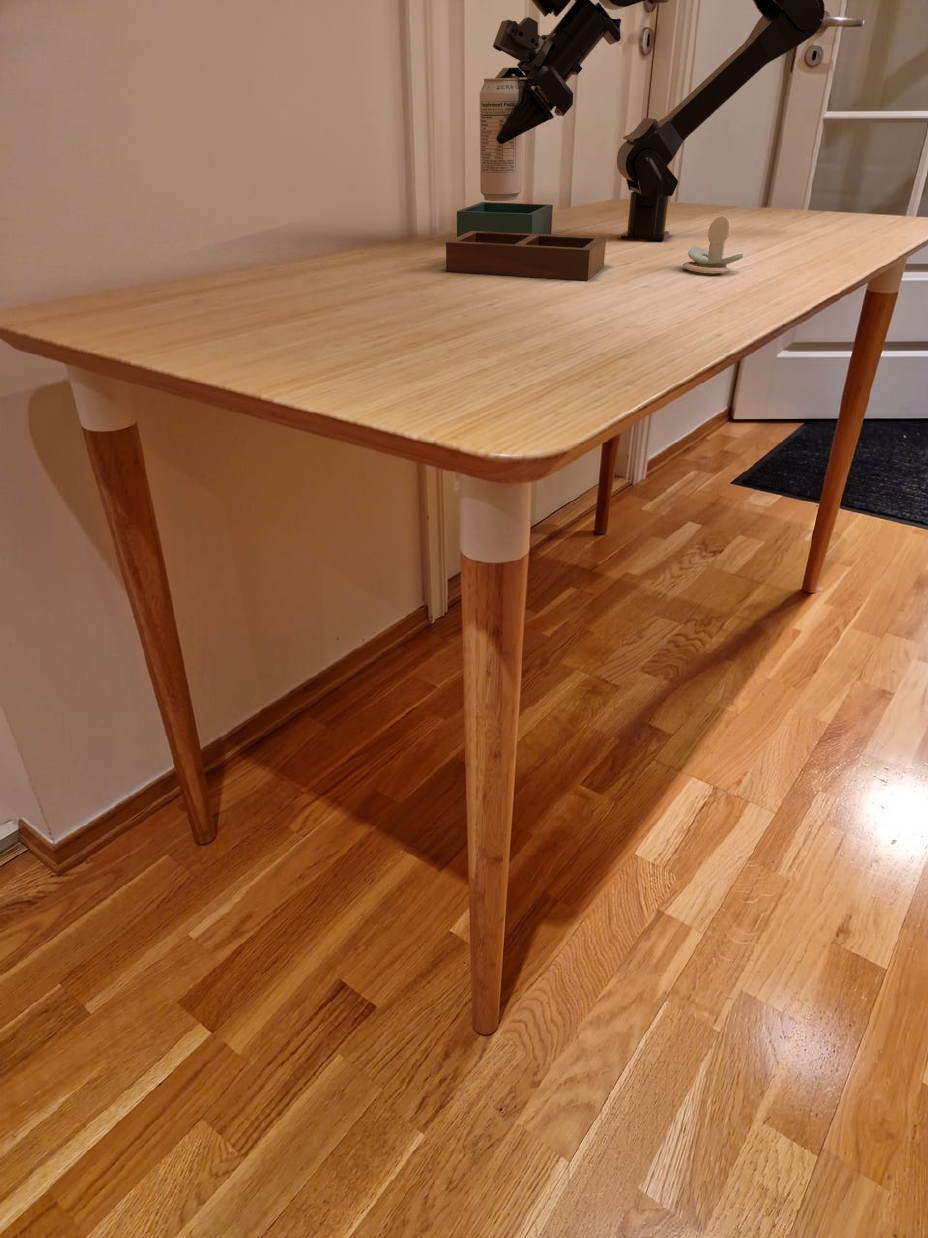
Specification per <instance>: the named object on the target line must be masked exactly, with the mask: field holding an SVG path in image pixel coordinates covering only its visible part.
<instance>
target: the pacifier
mask: <svg viewBox="0 0 928 1238" xmlns="http://www.w3.org/2000/svg"><path fill="white" fill-rule="evenodd" d="M731 227H732V225H731V222H730V220H729V219H728V218H727V217H725V216H718V217H716V218H715V219H714V220H713V221H712V222H711V223H710V225H709V228H708V231H707V238H708V242H709V246H708V250H707V249H705V248H703V247H700V246H690V247H689V248H688V251H687V256H688V257H689V258H690V259H691V260H692V261H686V262H683V263H682V265H681V266H682V268H684V269H685V270H688V271H691V272H694V273H695V272H696V273H702V274H704V273H705V274H725V273H727V272H728V271H729V267H727V265H729V264H732V263H735V262H737V261H740V260H742V259H743V257H744V253H739V254H738V253H737V254H736V255H731V256H728V257H724V258H723V256H724V250H725V244H726V240H728V238H729V237H730V234H731V230H732V228H731Z"/></svg>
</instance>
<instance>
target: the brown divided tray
mask: <svg viewBox="0 0 928 1238" xmlns="http://www.w3.org/2000/svg"><path fill="white" fill-rule="evenodd" d="M606 244H607V237H605V236H604V237H600V236H583V235H563V234H562V235H561V234H551V235H544V234H524V233H504V232H485V231H470V232H468V233H465V234H463V235H461V236H459V237H457V236H456V237H455V238H452V239H449V240H447V241H446V242H445V272H447V273H448V272H449V273H464V274H465V273H466V274H477V275H478V274H479V275H480V274H481V275H497V276H509V277H527V278H540V279H541V278H542V279H554V280H555V279H557V280H571V281H572V280H573V281H585V282H586V281H589V280H590V279H591V278H592V277H593V276H595V275H596V274H597V273H598V272H599V271H601V269H602V268H604V267H605V257H606V246H607V245H606Z"/></svg>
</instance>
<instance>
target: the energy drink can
mask: <svg viewBox="0 0 928 1238" xmlns="http://www.w3.org/2000/svg"><path fill="white" fill-rule="evenodd" d="M518 80H519V78H496V77H493V78H492V77H490V78H483V82H484V83H483V84H482V87H481V89H480V91H479V166H480V167H479V169H480V170H479V179H480V181H479V182H480V184H479V187H480V188H479V189H480V191H479V192H480V194H481V195H482V196H483V200H485V201H487V202H510V201H515V200H516V201H517V200H518V199H519V195H520V194H521V192H522V183H523V182H522V181H523V180H522V179H523V178H522V176H523V175H522V174H523V133H522V134H521V135H519V136H517V137H515V138H513V139H511V140H509V141H507V142H505V143H504V144H500V143H499V142H498V141H497V140H496V137H497V135H498V133H499V132H500V130H501V128H502V126H503V125H504V123H505V121H506V120H507V118H508V117H509V115H510V113H511V112H512V110H513V108H514V107H515V105H516V103H517V101H518V90H519V82H518Z"/></svg>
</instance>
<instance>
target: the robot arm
mask: <svg viewBox="0 0 928 1238" xmlns="http://www.w3.org/2000/svg"><path fill="white" fill-rule="evenodd" d="M530 1H531V2H532V3H533V4H534V6H535V7H536V8H537V10H538V11H539V12H540V13H541V14H542V15H543V17H544V18H545V17H546V18H547V16H548V15H553V16H554V17H555V18H557V17H559V15H560V14H561V13H562V12H563V11H564V10H565V9H566V7H567V6H568V5H569V4H570V2H572V0H530ZM642 2H646V0H598V2H597V3H594V2H593V1H592V0H574V3H573V4H572V5H571V6H570V8H569V9H568V10H567V12H565V14H564V15H563V17H562V18H561V19H560V20H559V21H558V23H557V24H556V25H555V27H554V28H552V30H551V32H550V33H548V34H541V35H540V34H539V22H538V21H537V20H536V19H533V18H531V17H529V16H528V17H524V18H522V20H521V21H520V22H519V23H518V21H516V20H511V19H506V20H501V22H500V25H499V28H498V31H497V33H496V36H495V39H494V41H493V44H492V48H493V49H495V50H496V51H498V52H503V53H505V54H507V55H508V56H510V57H511V58H513V59H515V60H517V61H518V62H517V63H516V67H502V69H501V70H500V71H499V72H498V73H497V75H496V76H495V78H519V80H518V82H519V90H518V101H517V103H516V105H515V107H514V108H513V110H512V112H511V113H510V115H509V117H508V118H507V120H506V121H505V123H504V125H503V126H502V128H501V130H500V132H499V133H498V135H497V137H496V140H497V141H498V142H499V143H500V144H504V143H505V142H507V141H509V140H511V139H513V138H515V137H517V136H519V135H521V134H522V135H523V134H524V133H526V132H529V131H530V130H532V129H535V128H536V127H538V126H540V125H542V124H544V123H546V122H548V121H551V120H553V119H554V118H555V116H557V117H564V116H565V115H566V114H567V113H568V111H569V110H570V109H571V108H572V106H573V104H574V92H573V90H572V89H571V88H570V87H569V86H568V84H567V82H568V81H569V79H570V78H572V76H578V75H579V74H580V72H581V71H582V70H583V67H582V66H581V65H582V64H583V63H584V61H585V60H586V59H587V57H588V56H589V55H590V54H591V52H593V50H594V49H595V47H597V45H598V44H599V43H600V41H602V39H604V40H605V41H606V43H607V44H608V45H609V46H611V45H615V44H617V43H618V42H620V41H621V39H622V37H621V36H622V35H621V25H622V19H621V18H612V17H611V16H610V14H609V13H608V12H607V11H606V9H607V10H609V11H610V10H611V11H616V10H620V9H621V10H622V9H624V8H627V7H630V6H633V5H637V4H639V3H642ZM752 2H753V4H754V6H755V8H756V9H757V10H758V12H759V13H760V14H761V17H760V18H759V19H758V21H757V22H756V24H755V25H754V27H753V29H752V31H751V32H750V34H749V35H748V37H747V38H746V40H745V41H744V42H743V44H741V45H740V46H739V47H738V48H737V49H736V50H735V51H733V53H732V54H731V55H730V56H729V57H728V58H727V59H725V60H724V61H723V62H722V63H721V64H720V65H719V66H718V67H717V68H715V69H714V71H712V73H711V74H710V75H708V77H706V78H705V79H704V80H703V81H701V82H700V83H699V84H698V86H696V88H694V90H692V91H691V92H690V93H689V94H688V95H687V96H686V97H685V98H684V99H683V100H681V102H680V103H678V105H676V106H675V107H674V108H673V109H672V110H671V111H670V112H669V113H668V114H667V115H666V116H665V117H663V118H661V119H659V120H657V118H651V117H644V118H643V119H642V120H641V121H640V122H639V123H638V125H637V126H636V128H635V129H634V130H633V131H632V132H630V133H629V134H626V135H624V136H623V137H622V139H623V140H624V142H623V143H622V144H621V146H620V147H619V149H618V151H617V157H616V167H617V170H618V173H619V174H620V175H621V177H623V178H624V179H625V181H626V184H627V189H628V191H631V192H630V196H629V197H630V198H629V207H628V208H629V210H628V219H627V229H626V231H625V232H623V233H622V234H621V237H620V238H621V239H623V240H640V241H641V240H642V241H643V240H644V241H665V240H666V239H667V237H669V236H670V231H668V230H666V225H667V214H668V207H669V199H670V197H672V196H674V194H675V191H676V189H677V187H678V185H679V180H678V178H677V177H676V176H675V174H673V172H672V171H671V169H669V167H668V166H669V165H670V163H671V162H672V161H673V160H674V158H675V157H676V155H677V153H678V151H679V150H680V148H681V147H682V145H683V143H684V141H685V140H686V139H687V138H688V137H689V136H690V135H691V134H693V132H695V131H696V130H697V129H698V128H699V127H700V126H701V125H702V124H703V123H704V122H706V121H707V120H708V119H709V118H710V117H711V116H712V115H713V114H714V113H716V111H718V110H719V109H720V108H721V107H722V106H723V105H724V104H725V103H726V102H728V100H729V99H730V98H731V97H733V96H734V95H735V94H736V93H737V92H738V91H739V90H740V89H741V88H743V86H745V85H746V84H747V83H748V82H749V81H750V80H751V79H752V78H753V77H754V76H755V75H756V74H757V73H759V72H760V71H761V70H762V69H763V68H764V67H765V66H766V65H768V64H769V63H771V62H772V61H775V60H776V59H778V58H780V57H782V56H784V55H785V54H788V53H789V52H791V51H792V50H794V49H796V48H797V47H799V46H800V45H802V44H803V43H804V42H806V41H808V40H809V39H811V38H812V37H813V36H815V34H816V33H817V32H818V31H819V30H820V28H821V27H822V26H823V23H824V16H825V13H826V11H825V10H826V7H825V6H826V5H825V2H824V0H752ZM553 110H554V111H553ZM552 111H553V113H554V114H555V116H554V114H553V113H552Z"/></svg>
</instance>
